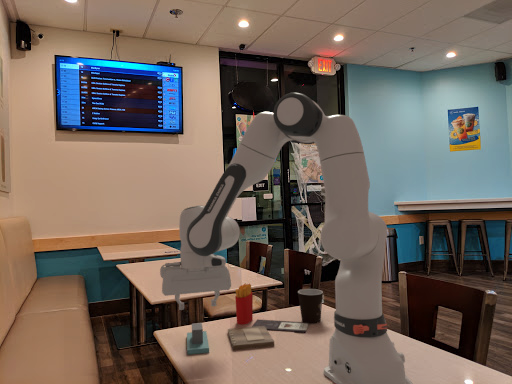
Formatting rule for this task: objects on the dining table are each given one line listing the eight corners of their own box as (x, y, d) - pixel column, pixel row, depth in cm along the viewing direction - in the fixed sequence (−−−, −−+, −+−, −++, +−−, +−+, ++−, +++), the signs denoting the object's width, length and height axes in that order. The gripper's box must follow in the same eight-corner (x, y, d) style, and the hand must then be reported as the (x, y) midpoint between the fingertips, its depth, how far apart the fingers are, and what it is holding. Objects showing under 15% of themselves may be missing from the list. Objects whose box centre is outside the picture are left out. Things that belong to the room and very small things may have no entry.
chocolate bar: (257, 319, 134) (308, 322, 129) (257, 322, 134) (308, 325, 129) (250, 327, 125) (305, 331, 121) (250, 330, 125) (305, 334, 121)
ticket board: (274, 346, 110) (274, 340, 110) (233, 350, 108) (233, 344, 108) (264, 330, 124) (264, 325, 124) (227, 333, 122) (227, 328, 122)
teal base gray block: (209, 352, 107) (208, 333, 107) (187, 354, 106) (187, 335, 106) (206, 335, 121) (205, 318, 121) (187, 336, 119) (186, 319, 120)
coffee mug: (313, 326, 126) (312, 296, 126) (293, 320, 133) (292, 292, 133) (334, 318, 134) (333, 290, 134) (314, 313, 141) (314, 286, 141)
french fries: (244, 317, 138) (243, 281, 138) (255, 318, 136) (254, 282, 136) (233, 325, 130) (232, 287, 130) (244, 327, 128) (243, 288, 128)
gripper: (159, 265, 108) (161, 314, 108) (230, 259, 112) (233, 306, 112) (160, 261, 114) (162, 308, 114) (228, 256, 118) (230, 301, 118)
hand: (197, 307), depth 113 cm, fingers open, 8 cm apart
